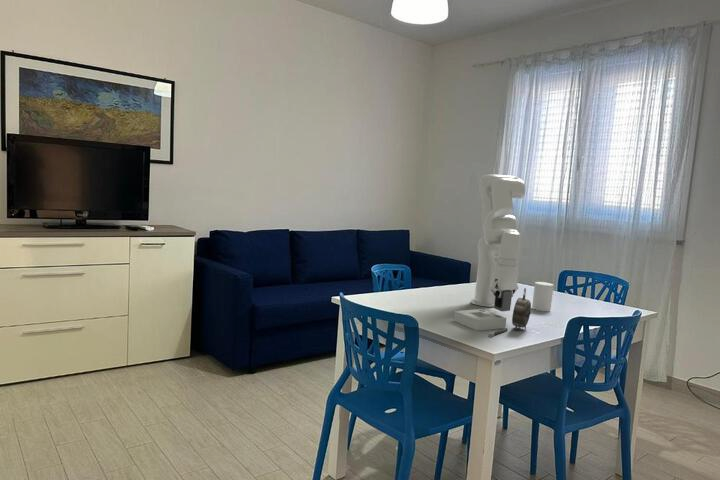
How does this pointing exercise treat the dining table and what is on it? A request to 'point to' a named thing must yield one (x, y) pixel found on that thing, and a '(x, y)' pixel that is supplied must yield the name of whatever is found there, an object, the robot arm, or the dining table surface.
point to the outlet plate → (479, 319)
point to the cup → (542, 296)
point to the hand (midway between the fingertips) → (502, 305)
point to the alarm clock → (521, 312)
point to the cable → (496, 332)
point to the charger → (505, 301)
